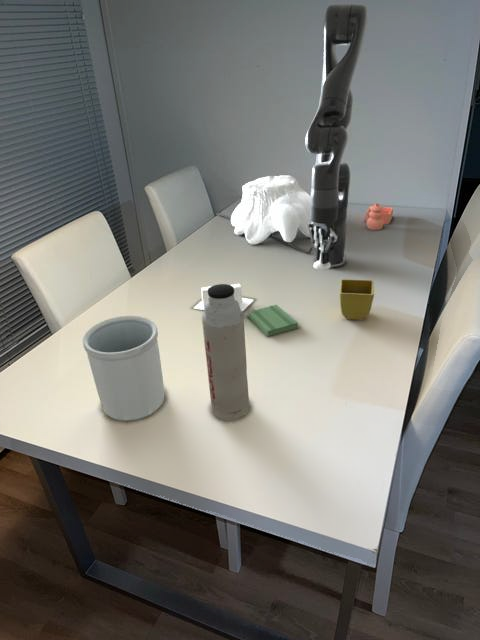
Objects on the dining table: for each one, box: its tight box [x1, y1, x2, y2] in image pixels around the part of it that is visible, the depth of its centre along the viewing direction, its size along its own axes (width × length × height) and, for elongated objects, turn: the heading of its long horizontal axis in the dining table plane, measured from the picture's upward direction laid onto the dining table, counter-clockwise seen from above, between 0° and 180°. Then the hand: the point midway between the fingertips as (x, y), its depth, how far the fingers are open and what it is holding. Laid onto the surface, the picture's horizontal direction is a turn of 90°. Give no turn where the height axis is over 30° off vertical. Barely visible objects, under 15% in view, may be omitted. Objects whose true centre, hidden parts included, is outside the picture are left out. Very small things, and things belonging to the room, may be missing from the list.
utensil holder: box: [82, 315, 165, 422], centre depth 103 cm, size 15×15×18 cm
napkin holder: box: [193, 283, 254, 313], centre depth 144 cm, size 15×11×6 cm
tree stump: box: [230, 174, 313, 245], centre depth 197 cm, size 40×37×23 cm
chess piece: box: [313, 240, 332, 271], centre depth 140 cm, size 5×5×10 cm
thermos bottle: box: [201, 283, 250, 421], centre depth 97 cm, size 8×8×28 cm
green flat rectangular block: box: [247, 304, 299, 337], centre depth 134 cm, size 12×9×2 cm
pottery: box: [365, 202, 394, 231], centre depth 199 cm, size 18×10×10 cm, turn 157°
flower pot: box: [339, 278, 375, 321], centre depth 132 cm, size 9×9×9 cm
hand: (322, 261), depth 141 cm, fingers closed on chess piece
